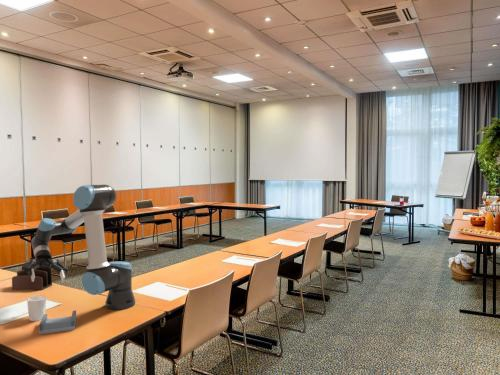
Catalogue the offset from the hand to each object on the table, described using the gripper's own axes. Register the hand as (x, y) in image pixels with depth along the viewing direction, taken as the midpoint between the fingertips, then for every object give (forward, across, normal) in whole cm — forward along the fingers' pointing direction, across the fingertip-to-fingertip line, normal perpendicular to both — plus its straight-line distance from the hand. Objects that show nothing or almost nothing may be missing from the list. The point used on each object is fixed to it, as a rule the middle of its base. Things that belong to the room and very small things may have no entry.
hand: (48, 279), depth 186 cm
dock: (+22, -4, -10) cm, 24 cm away
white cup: (+7, +1, -18) cm, 19 cm away
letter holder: (-49, -9, -41) cm, 65 cm away
